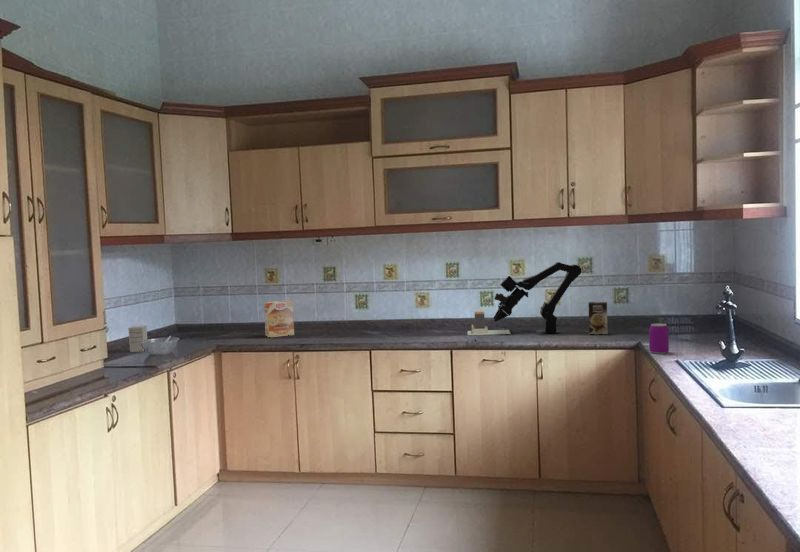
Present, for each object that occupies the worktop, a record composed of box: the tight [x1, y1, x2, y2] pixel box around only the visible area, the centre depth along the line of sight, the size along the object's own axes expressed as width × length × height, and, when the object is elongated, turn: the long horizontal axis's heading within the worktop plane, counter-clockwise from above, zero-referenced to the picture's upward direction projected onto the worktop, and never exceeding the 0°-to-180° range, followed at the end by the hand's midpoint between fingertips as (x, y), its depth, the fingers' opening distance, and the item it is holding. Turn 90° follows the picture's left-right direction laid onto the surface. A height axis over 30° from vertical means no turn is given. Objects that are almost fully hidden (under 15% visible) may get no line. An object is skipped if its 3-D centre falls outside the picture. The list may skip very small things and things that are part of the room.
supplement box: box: [127, 324, 148, 353], centre depth 357 cm, size 7×7×13 cm
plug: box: [473, 310, 486, 329], centre depth 362 cm, size 5×4×11 cm
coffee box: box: [588, 301, 608, 335], centre depth 349 cm, size 9×6×16 cm
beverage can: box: [648, 323, 670, 355], centre depth 293 cm, size 8×8×12 cm
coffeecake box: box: [263, 299, 295, 338], centre depth 390 cm, size 15×7×20 cm, turn 118°
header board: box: [467, 324, 511, 336], centre depth 362 cm, size 22×14×5 cm, turn 85°
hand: (494, 320), depth 361 cm, fingers open, 9 cm apart
